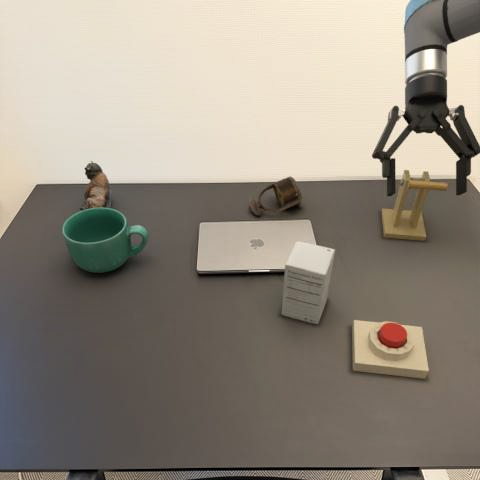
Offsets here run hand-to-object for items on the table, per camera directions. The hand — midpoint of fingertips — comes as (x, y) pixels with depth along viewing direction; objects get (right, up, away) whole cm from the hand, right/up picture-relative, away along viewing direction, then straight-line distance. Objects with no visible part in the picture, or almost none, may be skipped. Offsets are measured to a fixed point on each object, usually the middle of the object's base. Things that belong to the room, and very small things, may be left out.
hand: (426, 194), depth 90 cm
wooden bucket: (-27, +3, +24) cm, 37 cm away
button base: (-10, -30, -8) cm, 33 cm away
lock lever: (+1, +2, +6) cm, 6 cm away
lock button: (-10, -27, -11) cm, 31 cm away
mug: (-63, -12, +10) cm, 65 cm away
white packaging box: (-24, -22, 0) cm, 32 cm away
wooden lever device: (+2, -3, +18) cm, 18 cm away
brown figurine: (-70, +2, +23) cm, 74 cm away
